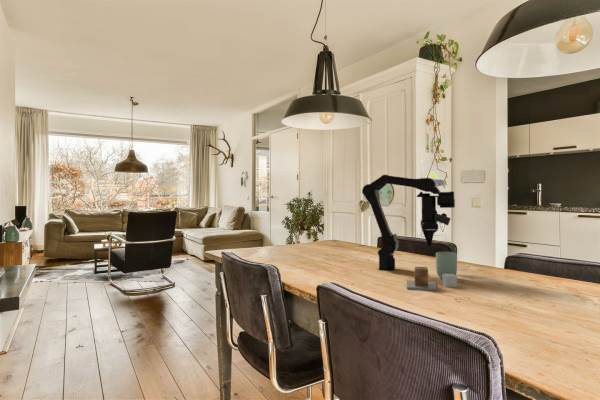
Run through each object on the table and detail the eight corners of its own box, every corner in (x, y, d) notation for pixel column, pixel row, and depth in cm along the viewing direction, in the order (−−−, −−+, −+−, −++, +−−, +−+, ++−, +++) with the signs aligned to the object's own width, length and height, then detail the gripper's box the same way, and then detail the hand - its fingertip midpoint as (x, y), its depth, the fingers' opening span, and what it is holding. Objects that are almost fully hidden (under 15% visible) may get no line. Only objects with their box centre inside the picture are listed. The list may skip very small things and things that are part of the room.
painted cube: (446, 287, 132) (445, 276, 132) (442, 284, 136) (442, 273, 136) (457, 287, 131) (457, 276, 131) (452, 284, 135) (452, 273, 135)
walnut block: (414, 285, 131) (414, 269, 131) (414, 282, 135) (414, 266, 135) (428, 286, 130) (428, 269, 130) (427, 283, 134) (427, 267, 134)
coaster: (406, 289, 129) (406, 287, 129) (407, 282, 139) (407, 280, 139) (436, 291, 126) (436, 288, 126) (434, 283, 136) (434, 281, 136)
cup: (460, 280, 140) (460, 254, 140) (440, 280, 140) (440, 255, 140) (452, 276, 148) (452, 251, 148) (433, 276, 148) (433, 251, 148)
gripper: (451, 208, 143) (451, 248, 144) (446, 206, 161) (447, 241, 162) (421, 208, 147) (422, 247, 147) (420, 206, 165) (420, 241, 165)
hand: (429, 244), depth 155 cm, fingers open, 9 cm apart
